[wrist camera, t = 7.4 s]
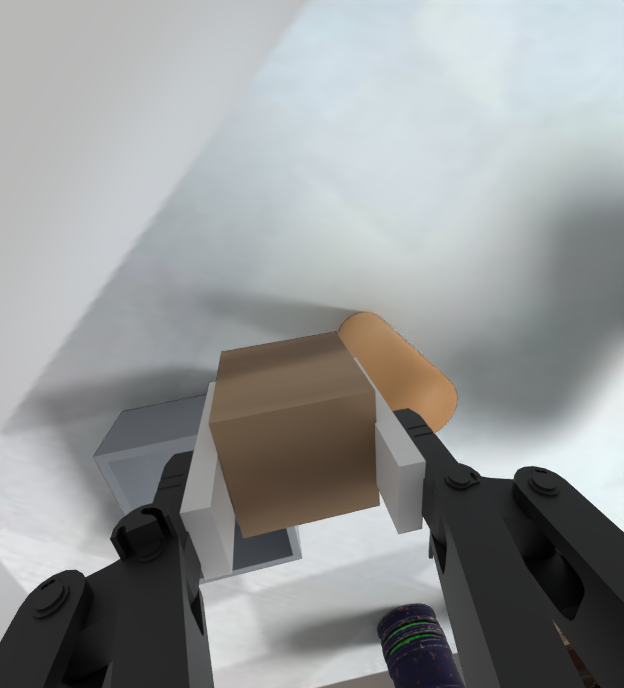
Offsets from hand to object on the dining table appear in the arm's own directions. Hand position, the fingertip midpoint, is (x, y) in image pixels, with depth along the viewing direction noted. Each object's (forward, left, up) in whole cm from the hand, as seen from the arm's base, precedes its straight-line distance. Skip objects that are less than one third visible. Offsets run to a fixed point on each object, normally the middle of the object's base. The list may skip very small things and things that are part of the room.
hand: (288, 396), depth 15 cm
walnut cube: (0, 0, 0) cm, 0 cm away
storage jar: (+39, +41, -15) cm, 59 cm away
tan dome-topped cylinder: (-1, +9, -15) cm, 18 cm away
